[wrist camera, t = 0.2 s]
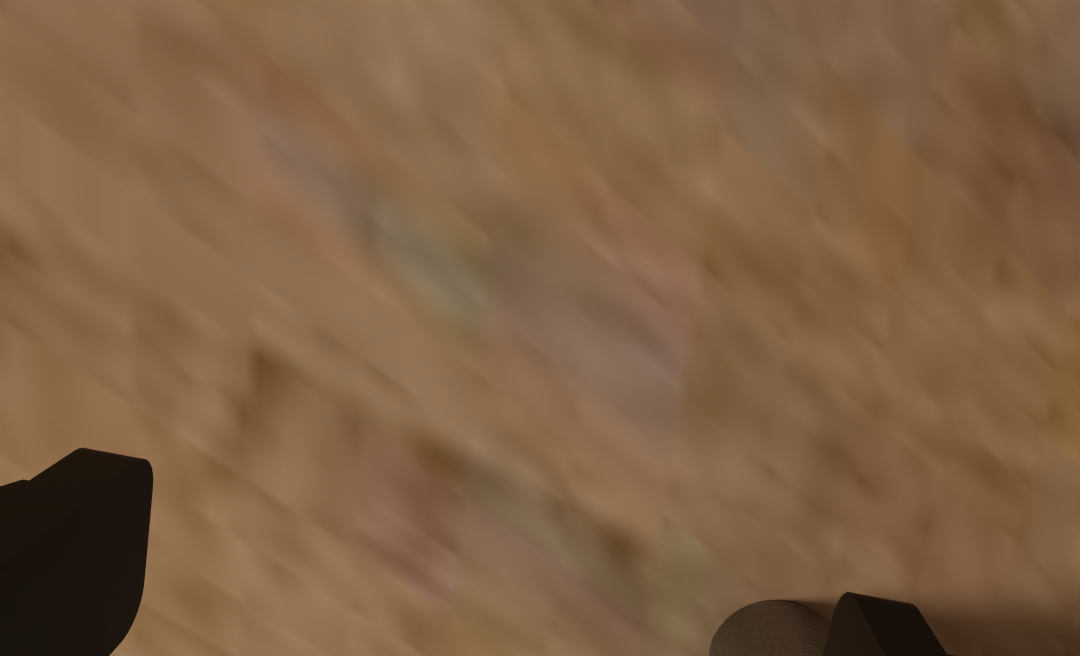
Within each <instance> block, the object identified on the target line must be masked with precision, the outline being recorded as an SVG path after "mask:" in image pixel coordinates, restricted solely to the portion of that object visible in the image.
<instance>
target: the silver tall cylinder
mask: <svg viewBox="0 0 1080 656" xmlns="http://www.w3.org/2000/svg"><path fill="white" fill-rule="evenodd" d="M829 629H830V627H829V625H828V624H827V623H826V622H825V620H824V619H823V618H822V617H820V616H819V615H818V614H817V613H815V612H814V611H812V610H811V609H809V608H807V607H805V606H803V605H800V604H797V603H793V602H789V601H780V600H770V601H762V602H758V603H754V604H751V605H748V606H746V607H744V608H742V609H740V610H738V611H736V612H735V613H734V614H732V615H731V616H730V617H729V618H727V619H726V620H725V621H724V622H723V624H722V625H721V626H720V627H719V629H718V630H717V632H716V633H715V635H714V638H713V640H712V642H711V646H710V651H709V656H823V652H824V648H825V644H826V641H827V637H828V633H829Z"/></svg>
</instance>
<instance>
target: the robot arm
mask: <svg viewBox="0 0 1080 656" xmlns="http://www.w3.org/2000/svg"><path fill="white" fill-rule="evenodd" d="M152 491H153V472H152V467H151V465H150V463H149V461H147V460H146V459H141V458H135V457H130V456H125V455H119V454H114V453H109V452H103V451H98V450H93V449H87V448H79V449H77V450H75V451H73V452H72V453H70V454H69V455H67V456H66V457H64V458H63V459H61V460H60V461H58V462H57V463H55V464H54V465H52V466H51V467H49V468H48V469H46V470H45V471H43V472H41V473H40V474H38V475H37V476H35V477H34V478H32V479H31V480H29V481H28V480H20V481H16V482H13V483H10V484H7V485H3V486H0V656H109V655H110V654H111V653H112V652H113V651H114V650H115V648H116V647H117V646H118V645H119V644H120V643H121V642H122V640H123V639H124V638H125V636H126V635H127V633H128V632H129V630H130V628H131V626H132V624H133V622H134V619H135V617H136V614H137V612H138V608H139V605H140V602H141V598H142V593H143V588H144V579H145V568H146V557H147V546H148V535H149V524H150V513H151V502H152ZM823 656H953V655H947V654H946V652H945V651H944V649H943V647H942V646H941V644H940V643H939V641H938V640H937V638H936V636H935V635H934V633H933V632H932V630H931V629H930V627H929V625H928V624H927V622H926V621H925V619H924V618H923V616H922V614H921V613H920V611H919V610H918V608H917V607H916V606H915V605H913V604H910V603H904V602H899V601H894V600H888V599H883V598H877V597H872V596H867V595H861V594H856V593H851V592H846V593H845V594H843V595H842V597H841V598H840V599H839V601H838V603H837V606H836V608H835V611H834V615H833V618H832V622H831V626H830V629H829V633H828V637H827V641H826V644H825V648H824V652H823Z"/></svg>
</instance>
